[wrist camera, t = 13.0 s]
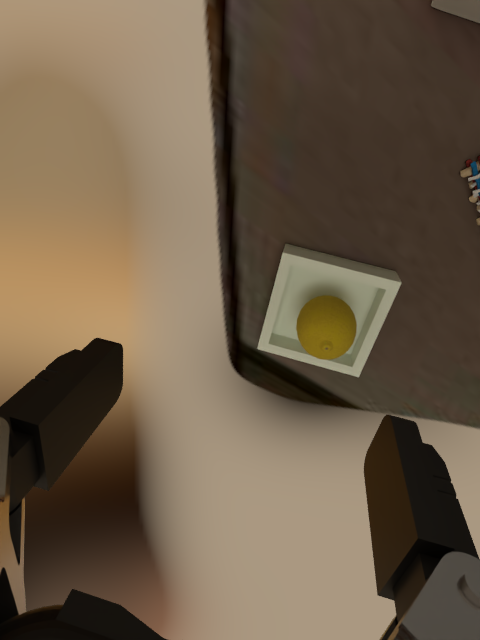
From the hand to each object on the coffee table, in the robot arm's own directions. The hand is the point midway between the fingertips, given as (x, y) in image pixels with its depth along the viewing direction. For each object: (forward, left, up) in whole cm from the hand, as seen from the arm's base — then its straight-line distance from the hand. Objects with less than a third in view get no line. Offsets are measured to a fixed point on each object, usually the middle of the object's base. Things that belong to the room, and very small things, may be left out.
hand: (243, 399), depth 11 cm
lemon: (-5, +9, -27) cm, 29 cm away
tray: (-5, +9, -27) cm, 29 cm away
